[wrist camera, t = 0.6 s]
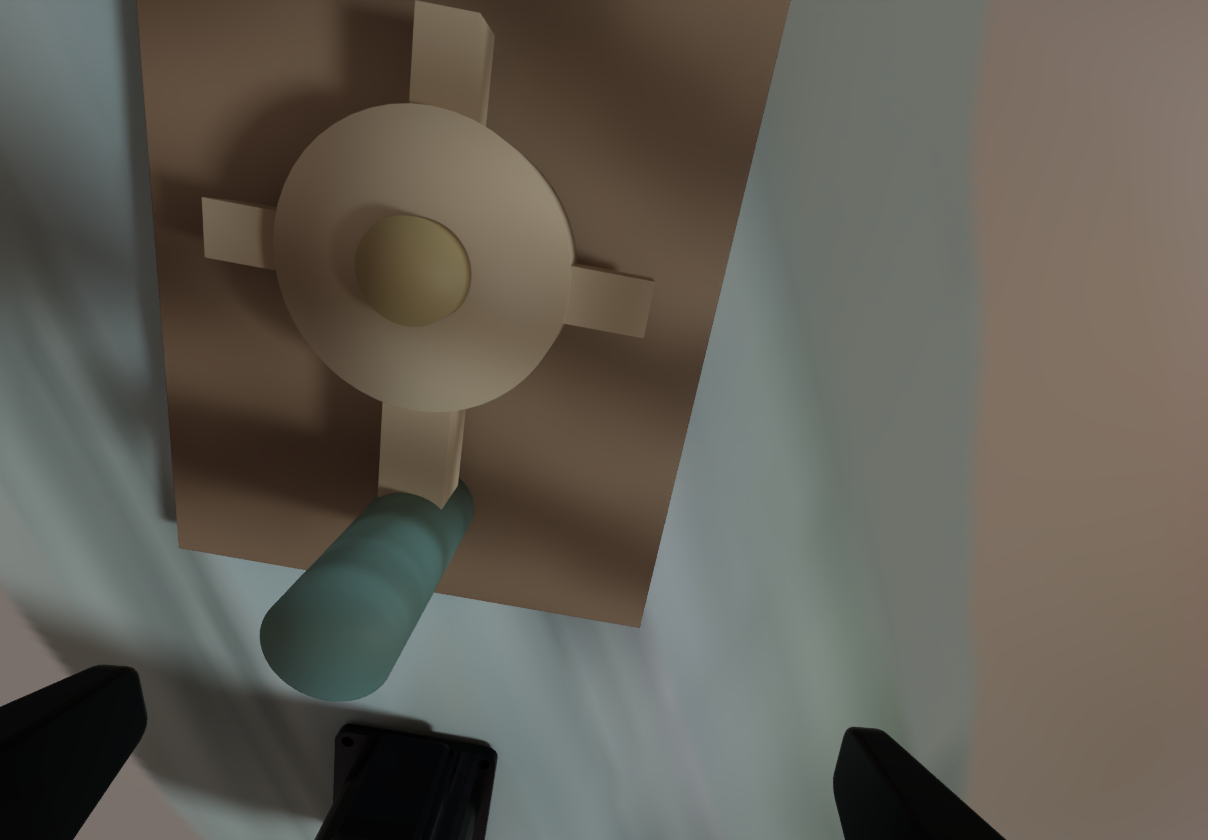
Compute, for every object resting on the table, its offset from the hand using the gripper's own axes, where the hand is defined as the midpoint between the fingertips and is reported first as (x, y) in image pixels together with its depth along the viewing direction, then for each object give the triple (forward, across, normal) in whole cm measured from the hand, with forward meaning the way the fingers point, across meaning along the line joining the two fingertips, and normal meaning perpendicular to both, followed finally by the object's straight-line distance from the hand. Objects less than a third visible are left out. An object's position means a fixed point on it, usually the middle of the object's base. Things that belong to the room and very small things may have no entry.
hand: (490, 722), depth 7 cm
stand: (+12, +4, -4) cm, 13 cm away
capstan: (+10, +4, -3) cm, 11 cm away
